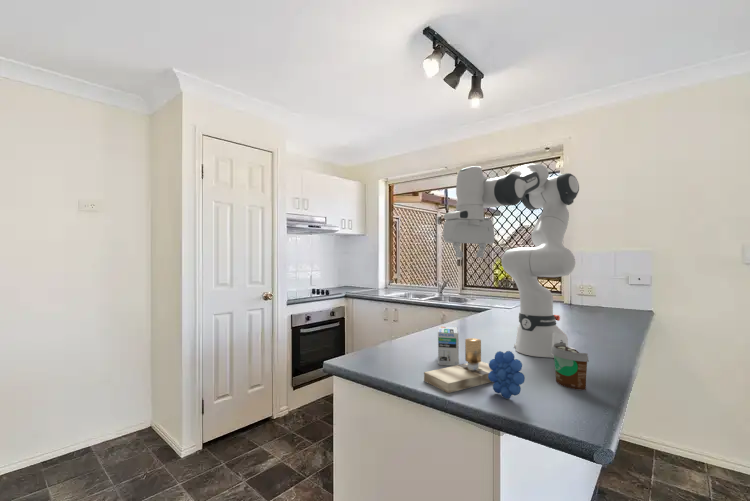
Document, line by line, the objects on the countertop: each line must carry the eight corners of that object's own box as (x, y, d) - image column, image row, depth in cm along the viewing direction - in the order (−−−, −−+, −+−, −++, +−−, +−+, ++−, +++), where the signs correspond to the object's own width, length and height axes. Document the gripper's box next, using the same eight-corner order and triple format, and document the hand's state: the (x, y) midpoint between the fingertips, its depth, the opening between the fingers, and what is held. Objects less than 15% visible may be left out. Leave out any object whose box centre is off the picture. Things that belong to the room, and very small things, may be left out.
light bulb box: (458, 366, 112) (458, 333, 112) (437, 365, 113) (437, 332, 114) (457, 357, 123) (457, 326, 123) (438, 356, 124) (438, 325, 124)
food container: (543, 375, 104) (543, 342, 104) (564, 376, 104) (564, 342, 104) (564, 392, 91) (564, 353, 92) (588, 392, 91) (588, 353, 91)
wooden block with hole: (479, 368, 110) (479, 360, 110) (505, 378, 101) (505, 369, 101) (424, 381, 99) (424, 371, 99) (448, 393, 90) (448, 382, 90)
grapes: (537, 404, 84) (537, 354, 84) (515, 409, 81) (515, 357, 81) (502, 387, 94) (502, 342, 94) (482, 391, 92) (482, 345, 92)
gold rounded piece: (473, 374, 105) (472, 337, 105) (484, 378, 101) (484, 340, 101) (462, 376, 102) (462, 339, 103) (473, 381, 99) (473, 342, 99)
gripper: (484, 218, 124) (484, 257, 123) (440, 214, 113) (440, 257, 113) (499, 216, 118) (499, 257, 118) (453, 212, 108) (453, 257, 108)
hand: (469, 257), depth 115 cm, fingers open, 8 cm apart
